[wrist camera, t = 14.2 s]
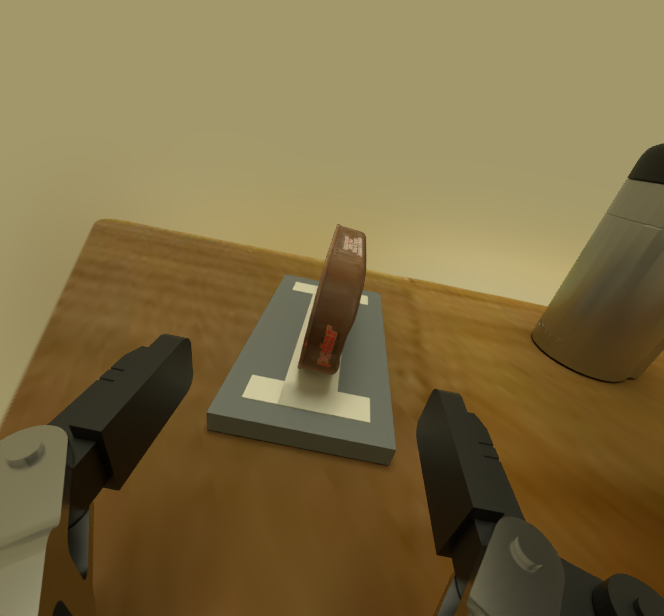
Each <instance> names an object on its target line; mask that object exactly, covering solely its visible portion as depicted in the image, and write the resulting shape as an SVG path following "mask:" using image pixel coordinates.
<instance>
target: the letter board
mask: <svg viewBox="0 0 664 616" xmlns="http://www.w3.org/2000/svg"><path fill="white" fill-rule="evenodd" d="M318 285H319V281H316V280H311V279H306V278H301V277H296V276H291V275H285V276H284V278H283V280H282V282H281V283H280V285H279V287H278V289H277V290H276V292H275V294H274V296H273V297H272V299H271V301H270V303H269V304H268V306H267V308H266V310H265V311H264V313H263V315H262V317H261V318H260V320H259V322H258V324H257V325H256V327H255V329H254V331H253V332H252V334H251V336H250V338H249V339H248V341H247V343H246V344H245V346H244V348H243V350H242V351H241V353H240V355H239V357H238V358H237V360H236V362H235V364H234V365H233V367H232V369H231V371H230V372H229V374H228V376H227V378H226V379H225V381H224V383H223V385H222V386H221V388H220V390H219V392H218V393H217V395H216V397H215V399H214V400H213V402H212V404H211V406H210V407H209V409H208V411H207V430H212V431H217V432H222V433H227V434H232V435H237V436H242V437H247V438H253V439H258V440H263V441H268V442H273V443H278V444H283V445H288V446H293V447H298V448H303V449H308V450H313V451H318V452H323V453H328V454H333V455H338V456H343V457H348V458H353V459H358V460H363V461H368V462H373V463H378V464H384V465H389V464H390V462H391V460H392V458H393V456H394V453H395V451H396V445H395V435H394V425H393V415H392V405H391V395H390V385H389V375H388V365H387V355H386V345H385V336H384V326H383V316H382V306H381V296H380V293H375V292H370V291H365V290H363V291H362V296H361V300H360V304H359V308H358V312H357V315H356V318H355V321H354V323H353V326H352V328H351V330H350V332H349V333H348V336H347V338H346V341H345V344H344V347H343V351H342V354H341V357H340V366H339V369H338V371H337V372H336V373H335V374H333V375H328V374H323V373H319V372H315V371H311V370H307V369H303V368H301V369H298V368H297V366H298V362H299V359H300V354H301V350H302V346H303V342H304V337H305V334H306V330H307V327H308V322H309V318H310V314H311V310H312V307H313V303H314V299H315V295H316V292H317V288H318Z"/></svg>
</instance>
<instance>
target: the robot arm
mask: <svg viewBox="0 0 664 616" xmlns="http://www.w3.org/2000/svg"><path fill="white" fill-rule="evenodd" d="M628 178H629V179H627V180H626V181H625V183H624V184H623V186H622V188H621V189H620V191H619V192H618V194H617V196H616V197H615V199H614V201H613V202H612V204H611V206H610V207H609V209H608V210H607V213H606V214H605V215H604V217H603V219H602V220H601V222H600V223H599V225H598V227H597V228H596V230H595V232H594V233H593V235H592V236H591V238H590V240H589V241H588V243H587V244H586V246H585V248H584V249H583V251H582V252H581V254H580V256H579V257H578V259H577V260H576V262H575V264H574V265H573V267H572V269H571V270H570V272H569V273H568V275H567V277H566V278H565V280H564V282H563V283H562V285H561V286H560V288H559V290H558V291H557V293H556V295H555V296H554V298H553V299H552V301H551V303H550V304H549V306H548V307H547V309H546V310H545V312H544V314H543V315H542V317H541V318H540V320H539V322H538V323H537V325H536V327H535V328H534V330H533V331H532V338H533V340H534V341H535V343H536V344H537V345H538V346H539V347H540V348H541V349H542V350H543V351H544V352H545V353H547V354H548V355H549V356H551V357H552V358H554V359H555V360H557V361H558V362H560V363H562V364H564V365H565V366H567V367H569V368H571V369H573V370H575V371H577V372H580V373H582V374H585V375H587V376H590V377H593V378H596V379H600V380H604V381H610V382H620V381H624V380H625V379H627V378H634V379H637V378H638V377H639V376H640V375H641V374H642V373H643V372H644V371H645V370H646V369H647V367H648V366H649V365H650V364H651V363H652V362H653V361H654V360H655V359H656V358H657V357H658V355H659V354H660V353H661V352H662V351H663V350H664V144H659V145H656V146H653V147H651V148H649V149H648V150H647V151H646V152H645V153H644V154H643V155H642V156H641V157H640V159H639V160H638V161H637V163H636V165H635V166H634V168H633V169H632V171H631V173H630V174H629V176H628ZM192 378H193V367H192V352H191V342H190V340H189V339H188V338H184V337H179V336H174V335H169V334H163V335H161V336H160V337H159V338H158V339H157V340H156V341H155V342H153V343H152V344H151V345H150V346H149V347H144V346H142V347H140V348H138V349H136V350H134V351H132V352H130V353H128V354H126V355H124V356H123V357H122V358H121V359H120V360H119V361H117V362H116V363H115V364H114V365H113V366H112V367H111V369H110V370H108V371H106V372H105V373H104V374H103V375H102V376H101V377H100V379H99V380H97V381H95V382H94V383H93V384H92V385H91V386H90V387H89V388H88V389H87V390H85V391H84V392H83V393H82V394H81V395H80V396H79V397H78V398H77V399H76V400H74V401H73V402H72V403H71V404H70V405H69V406H68V407H67V408H66V409H65V410H63V411H62V412H61V413H60V414H59V415H58V416H57V417H56V418H55V419H53V420H52V421H51V422H50V423H49V424H47V425H41V426H35V427H30V428H27V429H23V430H21V431H18V432H16V433H14V434H12V435H9V436H8V437H6V438H4V439H3V440H1V441H0V616H97V613H96V604H95V599H94V593H93V525H94V503H93V500H94V499H95V497H96V496H97V495H98V493H99V492H100V491H101V489H102V488H108V489H113V490H118V491H119V490H120V489H121V487H122V486H123V484H124V483H125V482H126V480H127V479H128V477H129V476H130V474H131V473H132V471H133V470H134V469H135V467H136V466H137V464H138V463H139V461H140V460H141V458H142V457H143V456H144V454H145V453H146V451H147V450H148V448H149V447H150V446H151V444H152V443H153V441H154V440H155V438H156V437H157V435H158V434H159V433H160V431H161V430H162V428H163V427H164V425H165V424H166V422H167V421H168V420H169V418H170V417H171V415H172V414H173V412H174V411H175V410H176V408H177V407H178V405H179V404H180V402H181V401H182V399H183V398H184V397H185V395H186V394H187V392H188V390H189V388H190V386H191V383H192ZM416 438H417V444H418V450H419V456H420V462H421V468H422V473H423V479H424V485H425V491H426V496H427V502H428V508H429V514H430V519H431V525H432V531H433V537H434V542H435V548H436V554H437V555H440V556H445V557H450V558H452V561H453V566H454V572H453V573H452V575H451V577H450V579H449V581H448V584H447V586H446V588H445V590H444V593H443V595H442V597H441V599H440V601H439V604H438V606H437V608H436V610H435V613H434V615H433V616H664V599H663V598H662V597H661V596H660V595H659V594H658V593H657V592H655V591H654V590H653V589H652V588H650V587H649V586H648V585H646V584H645V583H643V582H642V581H640V580H638V579H636V578H634V577H632V576H629V575H626V574H615V575H613V576H611V577H610V578H608V579H607V580H605V581H602V580H601V579H599V578H597V577H595V576H593V575H591V574H589V573H587V572H586V571H584V570H582V569H580V568H578V567H576V566H574V565H572V564H571V563H569V562H567V561H565V560H563V559H562V558H560V557H559V556H558V554H557V552H556V550H555V549H554V547H553V546H552V544H551V543H550V542H549V541H548V539H547V538H546V537H545V536H544V535H543V534H542V533H541V532H540V531H539V530H538V529H536V528H535V527H534V526H532V525H531V524H530V523H528V522H526V521H525V519H524V516H523V514H522V512H521V510H520V507H519V505H518V502H517V500H516V498H515V495H514V493H513V490H512V488H511V486H510V483H509V481H508V479H507V476H506V474H505V471H504V469H503V467H502V464H501V462H499V457H498V455H497V452H496V450H495V448H493V443H492V440H491V438H490V436H489V433H488V431H487V429H486V427H485V426H484V425H483V424H482V422H481V421H480V420H479V419H478V418H477V416H476V415H475V414H474V413H469V412H467V410H466V407H465V404H464V402H463V399H462V397H461V395H460V394H458V393H453V392H448V391H443V390H438V389H434V390H433V391H432V393H431V395H430V397H429V399H428V401H427V404H426V406H425V408H424V410H423V412H422V414H421V416H420V418H419V421H418V424H417V431H416ZM138 616H139V615H138Z"/></svg>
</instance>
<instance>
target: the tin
mask: <svg viewBox="0 0 664 616" xmlns="http://www.w3.org/2000/svg"><path fill="white" fill-rule="evenodd" d="M365 274H366V236H365V234H364V233H362V232H360V231H357V230H353V229H350V228H346V227H343V226H341V225H340V224H337V227H336V230H335V233H334V236H333V239H332V242H331V245H330V248H329V251H328V254H327V256H326V260H325V264H324V267H323V270H322V274H321V278H320V281H319V285H318V288H317V292H316V295H315V299H314V303H313V307H312V310H311V314H310V318H309V322H308V327H307V330H306V334H305V337H304V342H303V346H302V350H301V354H300V359H299V362H298V366H297V368H298V369H301V368H303V369H307V370H311V371H315V372H319V373H323V374H328V375H333V374H335V373H336V372H337V371H338V369H339V366H340V357H341V354H342V351H343V347H344V344H345V341H346V338H347V336H348V333H349V332H350V330H351V328H352V326H353V323H354V321H355V318H356V315H357V312H358V308H359V304H360V300H361V296H362V291H363V286H364V281H365Z"/></svg>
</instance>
